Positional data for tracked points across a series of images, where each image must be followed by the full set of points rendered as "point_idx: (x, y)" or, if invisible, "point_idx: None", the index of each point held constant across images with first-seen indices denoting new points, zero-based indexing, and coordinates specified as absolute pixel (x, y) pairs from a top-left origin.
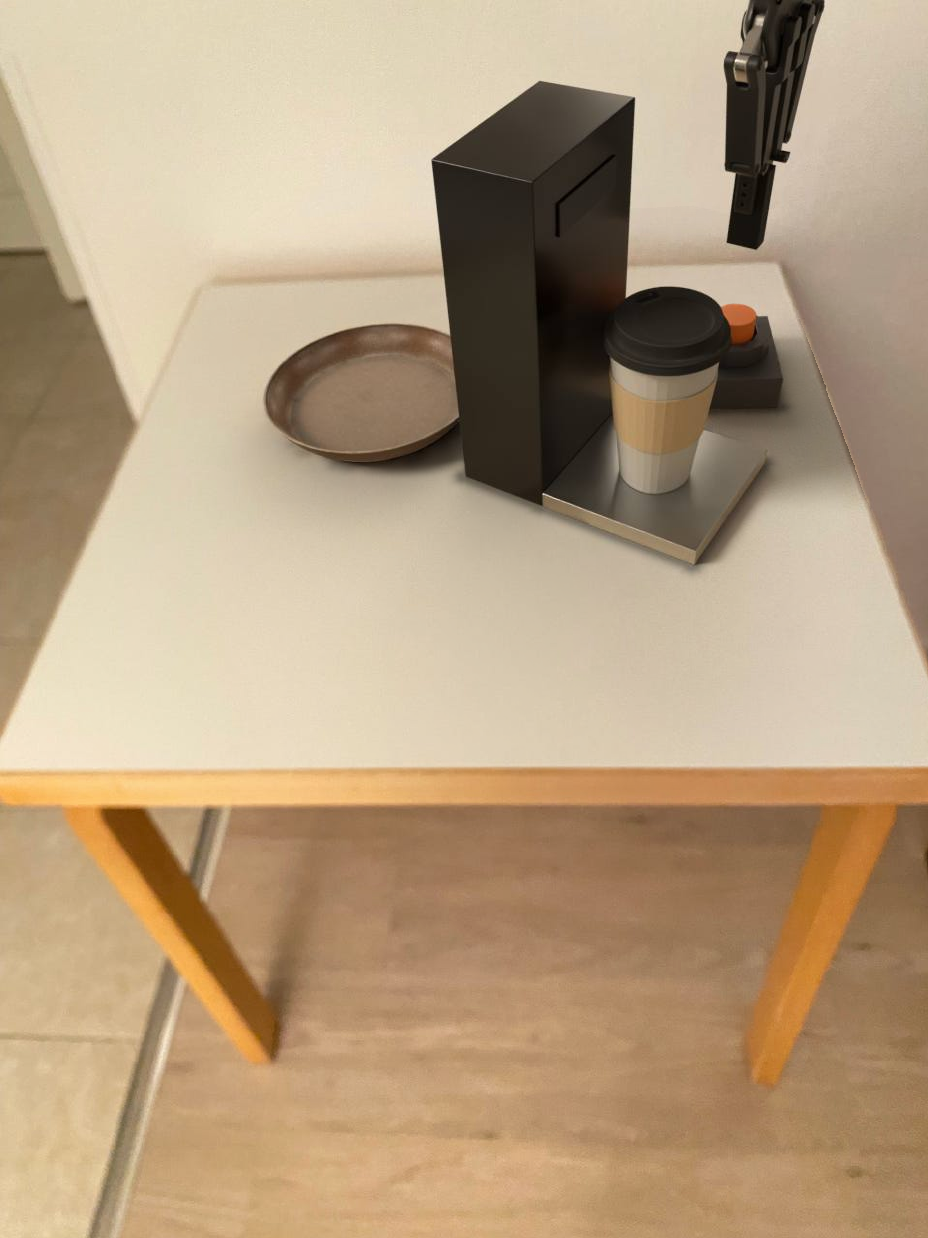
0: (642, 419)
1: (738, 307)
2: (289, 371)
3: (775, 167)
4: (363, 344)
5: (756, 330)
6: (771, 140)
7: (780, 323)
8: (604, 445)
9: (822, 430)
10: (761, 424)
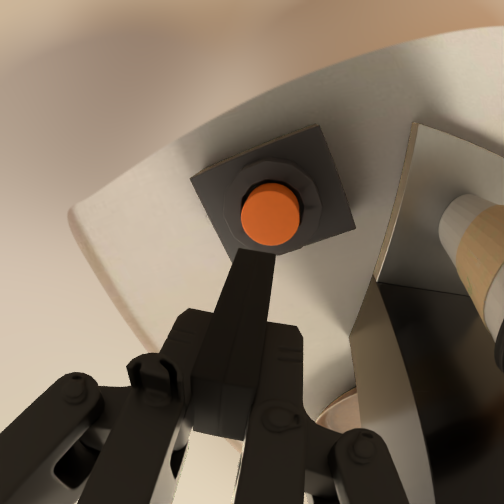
0: None
1: (251, 219)
2: None
3: (194, 369)
4: None
5: (260, 181)
6: (245, 496)
7: (156, 164)
8: (437, 276)
9: (339, 70)
10: (351, 134)
